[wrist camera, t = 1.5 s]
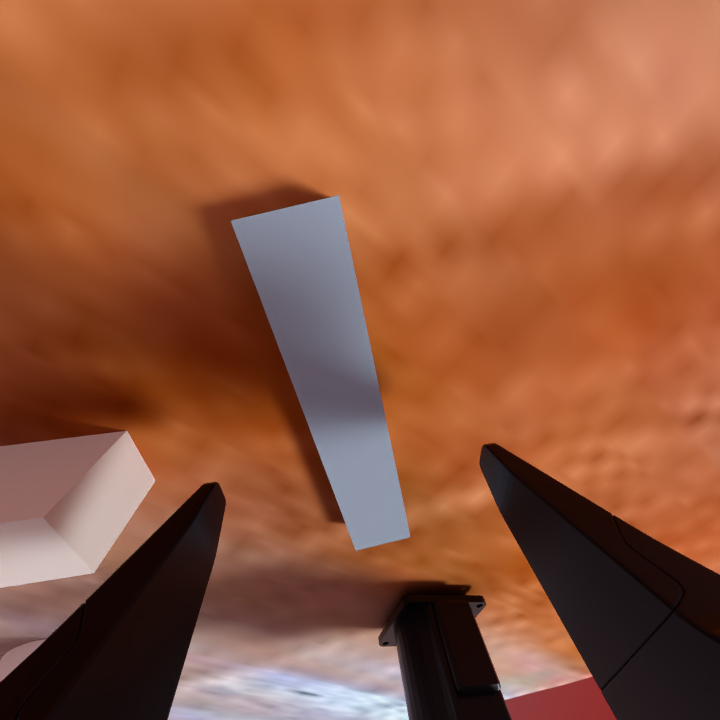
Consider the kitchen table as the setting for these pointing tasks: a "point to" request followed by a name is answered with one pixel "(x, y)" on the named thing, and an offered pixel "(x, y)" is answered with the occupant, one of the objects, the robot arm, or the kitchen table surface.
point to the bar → (328, 357)
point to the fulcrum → (66, 504)
